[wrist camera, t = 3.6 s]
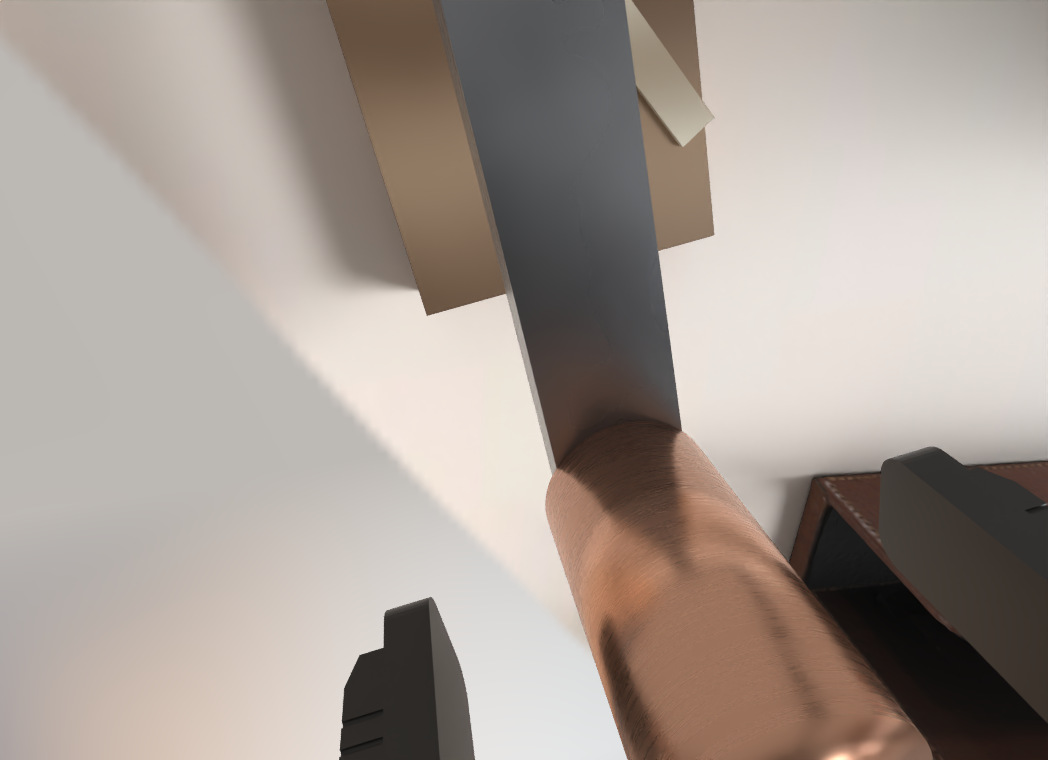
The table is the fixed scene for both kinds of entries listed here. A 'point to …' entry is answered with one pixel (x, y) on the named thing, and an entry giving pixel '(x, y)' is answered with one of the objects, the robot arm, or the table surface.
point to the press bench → (444, 155)
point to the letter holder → (912, 625)
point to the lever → (639, 417)
